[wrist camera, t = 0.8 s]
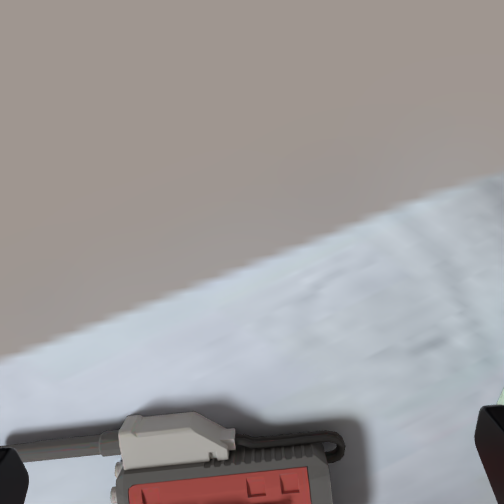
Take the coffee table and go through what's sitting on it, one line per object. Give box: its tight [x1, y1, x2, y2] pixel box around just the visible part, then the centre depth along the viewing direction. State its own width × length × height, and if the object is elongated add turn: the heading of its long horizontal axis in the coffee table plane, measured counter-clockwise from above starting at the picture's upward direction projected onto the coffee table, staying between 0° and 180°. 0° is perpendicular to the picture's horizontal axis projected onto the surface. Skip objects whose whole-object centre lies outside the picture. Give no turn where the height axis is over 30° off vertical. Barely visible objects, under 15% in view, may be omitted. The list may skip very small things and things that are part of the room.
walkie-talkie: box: [0, 412, 345, 504], centre depth 24 cm, size 9×4×20 cm
